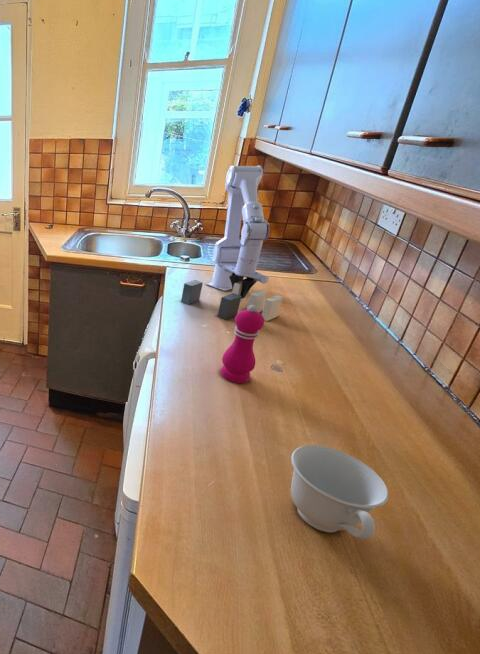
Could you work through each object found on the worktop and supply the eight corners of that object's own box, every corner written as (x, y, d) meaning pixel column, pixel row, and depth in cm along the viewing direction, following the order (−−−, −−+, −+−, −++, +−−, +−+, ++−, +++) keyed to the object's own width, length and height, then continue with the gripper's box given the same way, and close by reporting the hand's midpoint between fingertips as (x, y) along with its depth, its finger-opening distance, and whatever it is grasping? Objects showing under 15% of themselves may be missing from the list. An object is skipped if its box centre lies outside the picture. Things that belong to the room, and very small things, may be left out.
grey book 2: (228, 312, 136) (232, 292, 133) (236, 315, 134) (241, 296, 131) (217, 316, 133) (221, 296, 130) (225, 319, 131) (230, 300, 128)
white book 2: (271, 314, 134) (276, 295, 131) (277, 316, 132) (283, 297, 129) (260, 318, 131) (266, 299, 128) (266, 321, 130) (272, 301, 127)
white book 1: (255, 308, 138) (261, 289, 135) (261, 311, 136) (267, 291, 133) (245, 313, 135) (250, 293, 132) (251, 315, 134) (256, 295, 131)
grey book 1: (191, 297, 147) (195, 279, 144) (199, 300, 145) (202, 282, 142) (180, 301, 144) (184, 283, 141) (188, 304, 142) (191, 286, 139)
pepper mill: (253, 386, 99) (275, 313, 91) (220, 381, 101) (239, 309, 93) (247, 370, 105) (267, 300, 97) (216, 366, 107) (233, 297, 99)
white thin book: (240, 298, 142) (244, 279, 139) (245, 300, 140) (250, 281, 137) (229, 302, 139) (234, 283, 136) (235, 304, 137) (239, 285, 135)
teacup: (303, 563, 60) (325, 518, 56) (263, 482, 74) (278, 440, 69) (396, 577, 58) (426, 531, 54) (338, 491, 71) (358, 449, 67)
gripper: (220, 255, 137) (212, 291, 143) (263, 267, 126) (253, 306, 131) (232, 251, 140) (224, 287, 146) (276, 262, 129) (265, 301, 134)
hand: (238, 296), depth 139 cm, fingers closed on white thin book, 2 cm apart
